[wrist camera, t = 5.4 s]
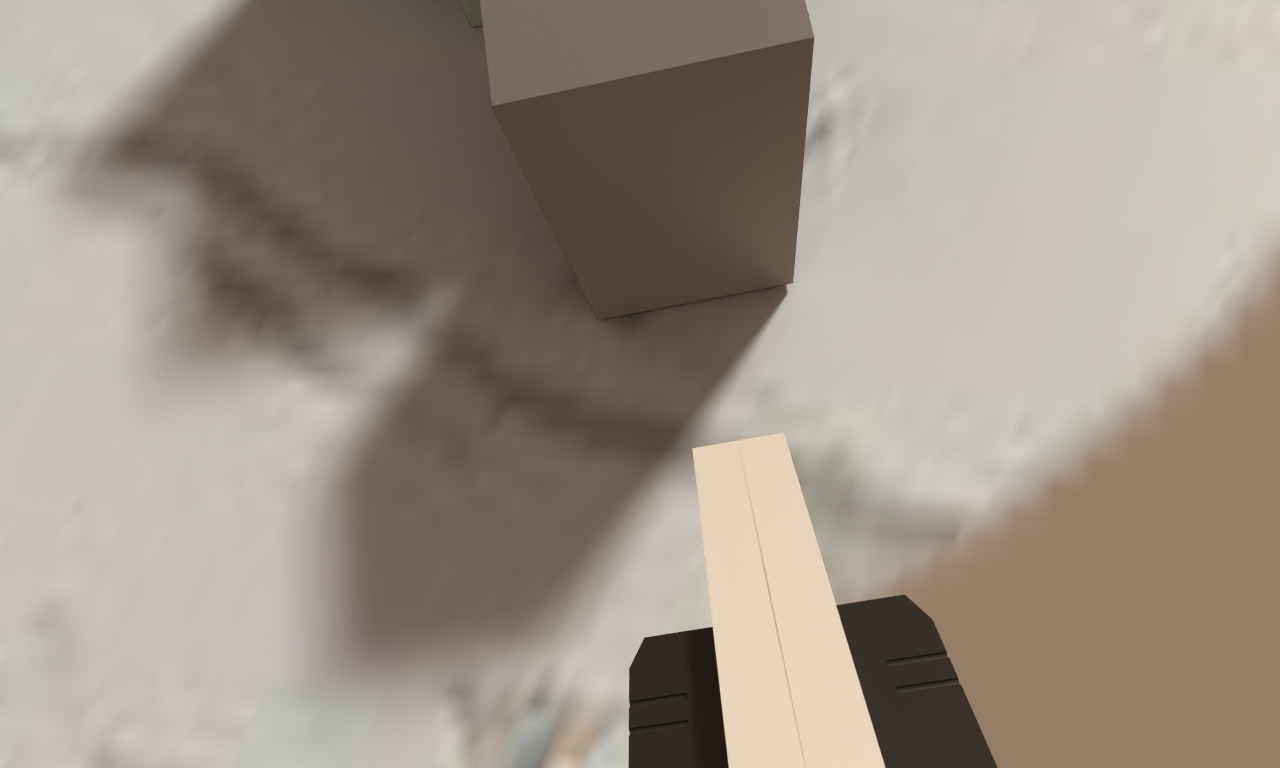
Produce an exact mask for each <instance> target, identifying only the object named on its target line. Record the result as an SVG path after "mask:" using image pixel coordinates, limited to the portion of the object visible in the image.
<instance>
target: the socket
mask: <svg viewBox="0 0 1280 768" xmlns="http://www.w3.org/2000/svg"><path fill="white" fill-rule="evenodd" d="M459 1H460V3H461V6H462V8H463V10H464V12H465V14H466V16H467V19H468V21H469V23H470V25H471V27H476V26H481V25H483V23H482V14H481V6H480V0H459Z"/></svg>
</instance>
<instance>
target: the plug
mask: <svg viewBox="0 0 1280 768" xmlns="http://www.w3.org/2000/svg"><path fill="white" fill-rule="evenodd" d="M480 6H481V14H482V23H483V32H484V41H485V50H486V59H487V68H488V77H489V86H490V95H491V104H492V108H493V110H494V112H495V114H496V116H497V118H498V120H499V122H500V124H501V126H502V128H503V130H504V132H505V134H506V136H507V138H508V140H509V142H510V144H511V146H512V148H513V150H514V152H515V154H516V156H517V158H518V160H519V162H520V164H521V166H522V168H523V170H524V172H525V174H526V176H527V178H528V180H529V182H530V184H531V186H532V188H533V190H534V192H535V194H536V196H537V199H538V201H539V203H540V205H541V207H542V209H543V211H544V213H545V215H546V217H547V219H548V221H549V223H550V225H551V227H552V229H553V231H554V233H555V235H556V237H557V239H558V241H559V243H560V245H561V247H562V249H563V251H564V253H565V255H566V257H567V259H568V261H569V263H570V265H571V267H572V269H573V271H574V273H575V275H576V277H577V279H578V281H579V283H580V285H581V287H582V289H583V291H584V293H585V295H586V297H587V300H588V302H589V304H590V306H591V308H592V310H593V312H594V314H595V316H596V318H597V320H602V319H607V318H612V317H617V316H623V315H628V314H633V313H638V312H644V311H649V310H654V309H659V308H665V307H670V306H675V305H680V304H686V303H691V302H696V301H701V300H706V299H712V298H717V297H722V296H727V295H733V294H738V293H743V292H748V291H754V290H759V289H764V288H769V287H775V286H780V285H785V284H790V283H793V276H794V265H795V253H796V241H797V230H798V218H799V207H800V195H801V184H802V172H803V160H804V149H805V137H806V126H807V114H808V103H809V91H810V79H811V68H812V56H813V45H814V35H813V31H812V27H811V23H810V19H809V15H808V11H807V7H806V3H805V0H480Z"/></svg>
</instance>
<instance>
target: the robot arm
mask: <svg viewBox="0 0 1280 768" xmlns="http://www.w3.org/2000/svg"><path fill="white" fill-rule="evenodd" d="M693 457H694V466H695V474H696V483H697V492H698V501H699V510H700V518H701V527H702V536H703V545H704V554H705V562H706V571H707V580H708V589H709V598H710V606H711V615H712V624H713V627H710V628H703V629H697V630H690V631H684V632H678V633H671V634H665V635H658V636H652V637H645V638H644V640H643V642H642V644H641V646H640V648H639V650H638V652H637V654H636V656H635V658H634V660H633V662H632V664H631V666H630V668H629V702H630V708H629V731H630V735H629V768H997V765H996V763H995V761H994V759H993V757H992V754H991V752H990V749H989V747H988V745H987V743H986V740H985V738H984V736H983V734H982V731H981V729H980V727H979V725H978V722H977V720H976V718H975V715H974V713H973V711H972V708H971V706H970V704H969V702H968V699H967V697H966V695H965V693H964V690H963V688H962V686H961V685H960V684H959V681H958V677H957V674H956V672H955V670H954V668H953V665H952V663H951V661H950V658H948V657H947V652H946V649H945V647H944V645H943V643H942V640H941V638H940V636H939V633H938V631H937V629H936V627H935V624H934V622H933V620H932V619H931V618H930V617H929V616H928V615H927V614H926V613H925V612H923V611H922V610H921V609H920V608H919V607H918V606H917V605H916V604H915V603H913V602H912V601H911V600H910V599H909V598H908V597H907V596H906V595H900V596H893V597H887V598H880V599H874V600H868V601H861V602H855V603H848V604H842V605H836V603H835V600H834V597H833V593H832V590H831V587H830V583H829V580H828V577H827V574H826V570H825V567H824V564H823V560H822V557H821V554H820V550H819V547H818V544H817V541H816V537H815V534H814V531H813V527H812V524H811V521H810V517H809V514H808V511H807V508H806V504H805V501H804V498H803V494H802V491H801V488H800V485H799V481H798V478H797V475H796V471H795V468H794V465H793V461H792V458H791V455H790V452H789V448H788V445H787V442H786V438H785V435H784V433H779V434H773V435H767V436H761V437H756V438H750V439H744V440H738V441H733V442H727V443H721V444H715V445H709V446H704V447H698V448H693Z"/></svg>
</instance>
